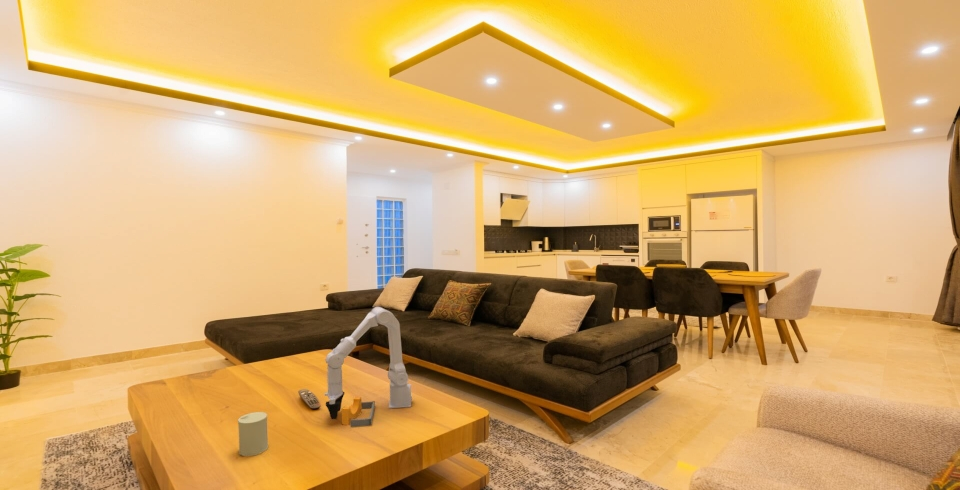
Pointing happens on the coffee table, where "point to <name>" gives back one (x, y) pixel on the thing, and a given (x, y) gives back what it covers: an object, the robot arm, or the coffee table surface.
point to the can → (253, 434)
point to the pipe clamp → (351, 411)
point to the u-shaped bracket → (367, 420)
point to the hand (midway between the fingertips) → (335, 414)
